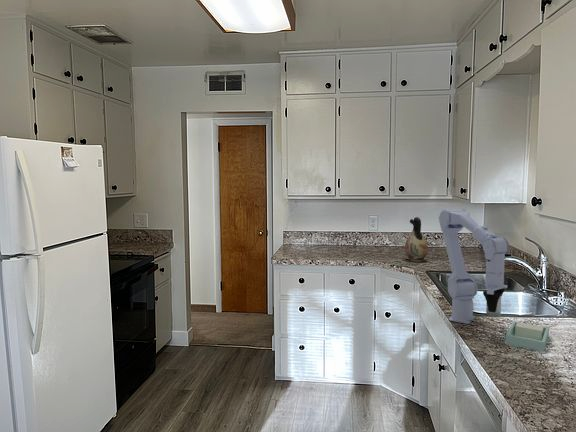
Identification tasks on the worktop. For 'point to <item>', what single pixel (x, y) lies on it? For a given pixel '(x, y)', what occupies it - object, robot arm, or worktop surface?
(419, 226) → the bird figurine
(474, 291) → the robot arm
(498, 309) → the tin can
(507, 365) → the worktop surface
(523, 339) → the tote
